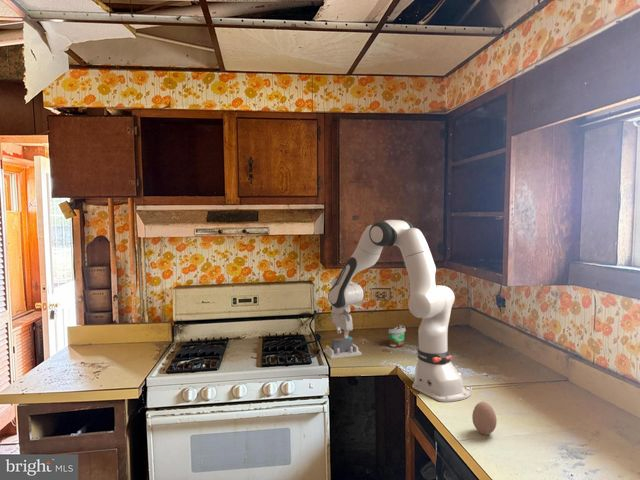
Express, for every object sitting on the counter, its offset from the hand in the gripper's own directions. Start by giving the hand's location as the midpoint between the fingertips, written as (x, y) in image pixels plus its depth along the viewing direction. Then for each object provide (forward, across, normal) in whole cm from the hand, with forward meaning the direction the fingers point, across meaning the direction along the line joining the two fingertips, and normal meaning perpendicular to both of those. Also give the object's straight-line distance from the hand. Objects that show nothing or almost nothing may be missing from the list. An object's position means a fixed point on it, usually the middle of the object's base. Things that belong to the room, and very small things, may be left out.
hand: (342, 335), depth 195 cm
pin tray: (+9, +1, 0) cm, 9 cm away
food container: (+10, 0, -32) cm, 33 cm away
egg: (+11, -84, -13) cm, 86 cm away
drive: (+8, 0, 0) cm, 8 cm away
